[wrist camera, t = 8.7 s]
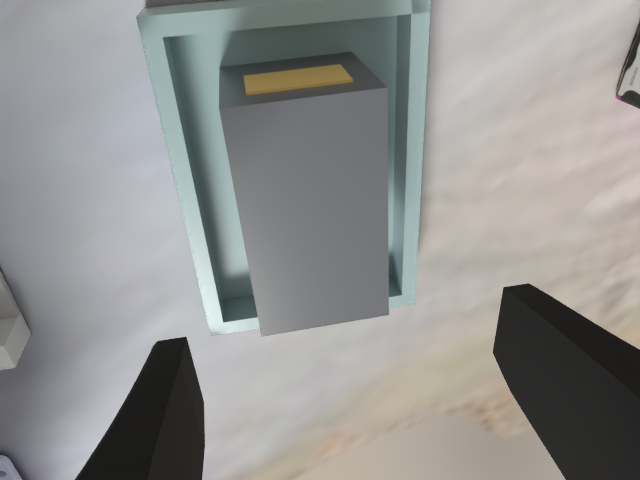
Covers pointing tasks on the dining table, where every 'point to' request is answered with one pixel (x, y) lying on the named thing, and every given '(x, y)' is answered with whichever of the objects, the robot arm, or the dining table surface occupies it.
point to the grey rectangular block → (310, 187)
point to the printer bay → (11, 329)
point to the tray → (208, 138)
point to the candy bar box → (631, 76)
